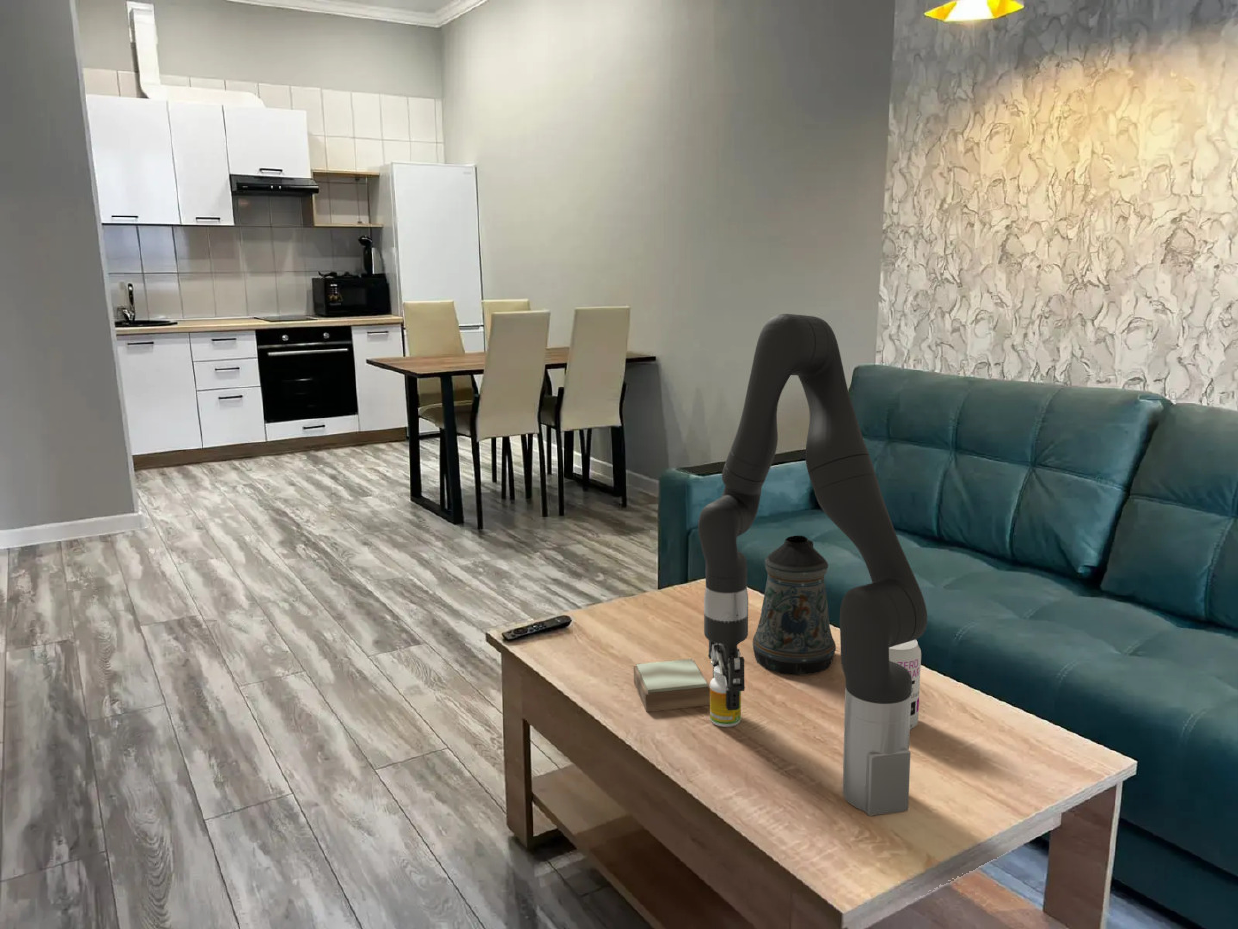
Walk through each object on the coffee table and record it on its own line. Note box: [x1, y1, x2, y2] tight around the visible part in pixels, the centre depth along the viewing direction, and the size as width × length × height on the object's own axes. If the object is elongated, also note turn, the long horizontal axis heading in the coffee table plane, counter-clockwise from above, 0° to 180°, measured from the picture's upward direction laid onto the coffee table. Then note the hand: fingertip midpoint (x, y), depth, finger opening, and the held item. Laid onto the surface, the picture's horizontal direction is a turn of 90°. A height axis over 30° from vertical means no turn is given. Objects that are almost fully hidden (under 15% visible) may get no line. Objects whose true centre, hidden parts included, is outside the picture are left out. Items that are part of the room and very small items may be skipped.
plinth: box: [633, 658, 710, 713], centre depth 165 cm, size 12×12×4 cm
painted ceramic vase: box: [752, 535, 837, 677], centre depth 177 cm, size 16×19×25 cm
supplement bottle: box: [709, 665, 742, 728], centre depth 153 cm, size 5×5×10 cm
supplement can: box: [889, 639, 922, 731], centre depth 151 cm, size 8×8×15 cm
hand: (725, 697), depth 154 cm, fingers open, 8 cm apart
